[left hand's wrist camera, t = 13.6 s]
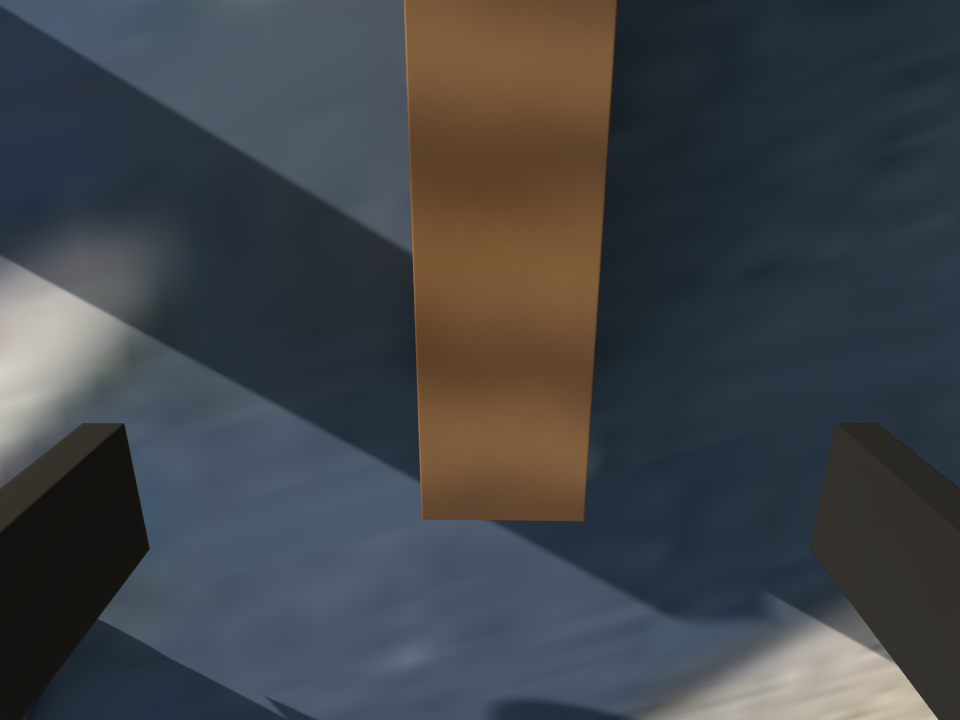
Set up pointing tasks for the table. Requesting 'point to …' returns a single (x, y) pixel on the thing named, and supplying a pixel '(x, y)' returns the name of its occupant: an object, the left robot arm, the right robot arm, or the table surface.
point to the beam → (507, 248)
